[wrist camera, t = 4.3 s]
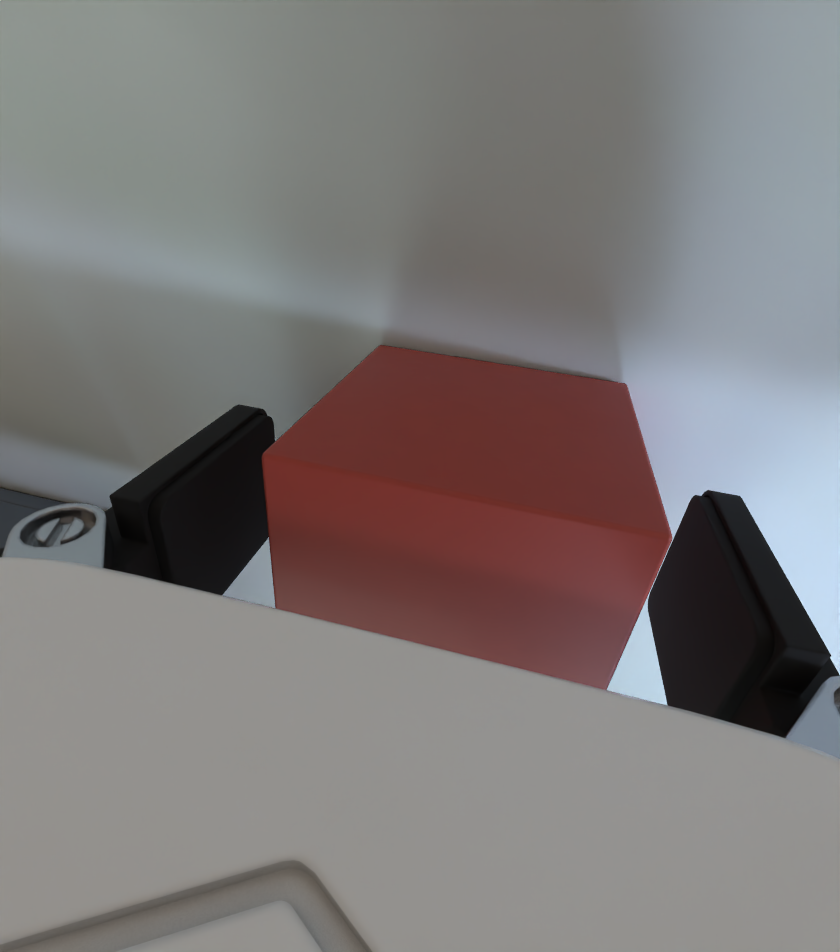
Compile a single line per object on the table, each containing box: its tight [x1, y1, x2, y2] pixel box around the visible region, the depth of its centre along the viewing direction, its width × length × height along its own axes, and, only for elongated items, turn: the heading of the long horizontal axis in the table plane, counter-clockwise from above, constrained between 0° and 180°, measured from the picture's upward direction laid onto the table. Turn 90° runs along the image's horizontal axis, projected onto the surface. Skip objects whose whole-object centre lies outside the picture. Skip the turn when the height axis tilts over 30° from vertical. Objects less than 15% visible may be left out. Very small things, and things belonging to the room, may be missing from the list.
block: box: [262, 345, 672, 690], centre depth 10 cm, size 5×5×5 cm
